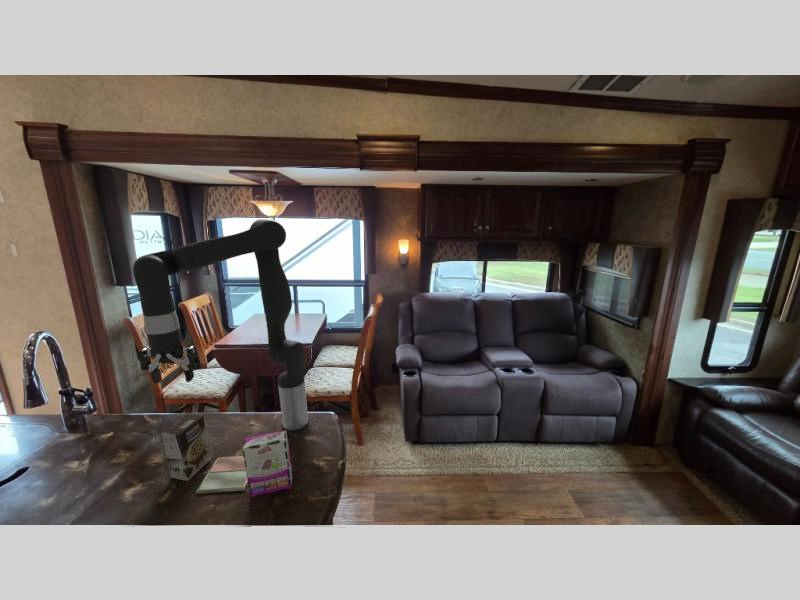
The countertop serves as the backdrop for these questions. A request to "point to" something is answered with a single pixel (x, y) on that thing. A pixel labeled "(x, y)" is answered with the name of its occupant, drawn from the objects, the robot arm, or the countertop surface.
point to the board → (225, 476)
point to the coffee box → (186, 447)
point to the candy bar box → (267, 463)
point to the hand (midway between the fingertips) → (174, 381)
